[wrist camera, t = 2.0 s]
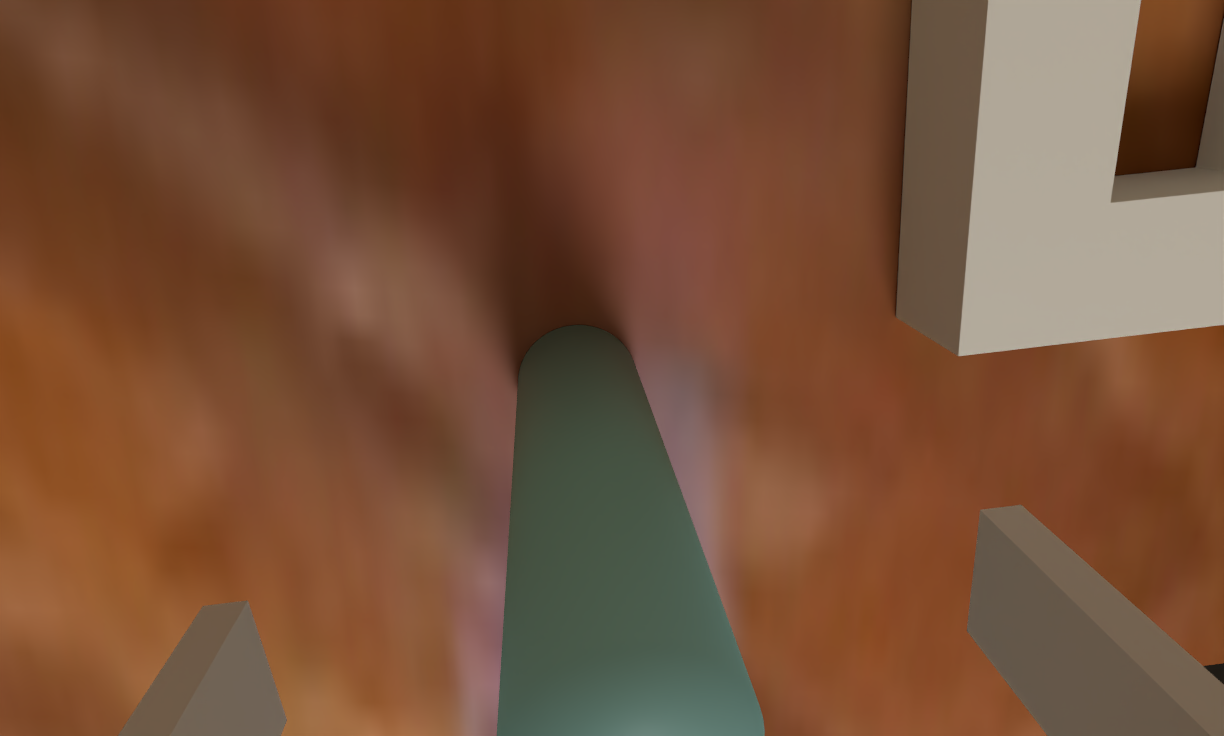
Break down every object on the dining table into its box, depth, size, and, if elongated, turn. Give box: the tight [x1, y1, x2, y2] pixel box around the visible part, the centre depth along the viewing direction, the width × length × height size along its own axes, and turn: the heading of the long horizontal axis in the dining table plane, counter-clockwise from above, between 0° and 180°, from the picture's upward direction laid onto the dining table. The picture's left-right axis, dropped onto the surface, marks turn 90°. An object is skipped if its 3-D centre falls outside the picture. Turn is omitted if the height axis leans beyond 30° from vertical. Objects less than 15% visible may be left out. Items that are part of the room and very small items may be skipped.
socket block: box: [896, 0, 1224, 356], centre depth 21 cm, size 14×14×4 cm
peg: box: [497, 325, 765, 736], centre depth 18 cm, size 4×4×15 cm
